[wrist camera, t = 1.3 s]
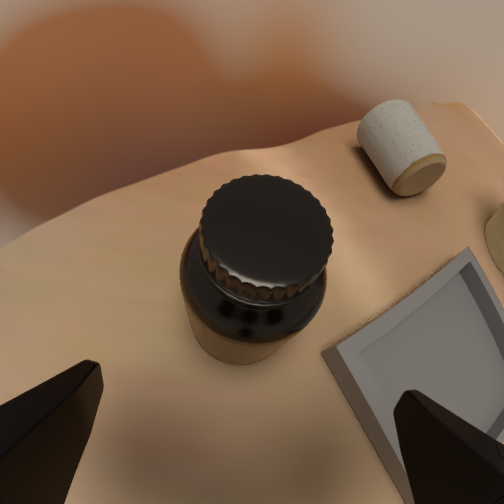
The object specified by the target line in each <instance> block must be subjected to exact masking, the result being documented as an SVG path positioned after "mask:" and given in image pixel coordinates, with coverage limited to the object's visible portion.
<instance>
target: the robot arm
mask: <svg viewBox="0 0 504 504" xmlns="http://www.w3.org/2000/svg"><path fill="white" fill-rule="evenodd" d="M103 387H104V384H103V378H102V372H101V367H100V364H99V363H98V362H95V361H91V360H83V361H82V362H80V363H78V364H76V365H74V366H73V367H71V368H69V369H67V370H65V371H63V372H62V373H60V374H58V375H56V376H54V377H52V378H51V379H49V380H47V381H45V382H43V383H41V384H39V385H38V386H36V387H34V388H32V389H30V390H28V391H26V392H25V393H23V394H21V395H19V396H17V397H15V398H13V399H12V400H10V401H8V402H6V403H4V404H2V405H0V504H64V503H65V500H66V497H67V494H68V491H69V489H70V486H71V483H72V480H73V478H74V475H75V472H76V470H77V467H78V464H79V462H80V459H81V457H82V454H83V452H84V449H85V447H86V444H87V442H88V439H89V437H90V434H91V431H92V427H93V424H94V420H95V416H96V413H97V409H98V406H99V403H100V399H101V396H102V393H103ZM393 416H394V421H395V426H396V431H397V436H398V441H399V447H400V452H401V456H402V459H403V463H404V466H405V470H406V473H407V477H408V481H409V484H410V488H411V492H412V496H413V500H414V504H504V444H502V443H500V442H499V441H497V440H496V439H493V438H492V437H491V436H489V435H487V434H486V433H484V432H483V431H481V430H479V429H478V428H476V427H475V426H473V425H471V424H470V423H468V422H467V421H465V420H463V419H462V418H460V417H459V416H457V415H456V414H454V413H452V412H451V411H449V410H448V409H446V408H445V407H443V406H442V405H440V404H438V403H437V402H435V401H434V400H432V399H431V398H429V397H428V396H426V395H425V394H423V393H421V392H420V391H418V390H416V389H413V390H406V391H404V392H403V394H402V395H401V397H400V399H399V401H398V402H397V404H396V406H395V408H394V411H393Z"/></svg>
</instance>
